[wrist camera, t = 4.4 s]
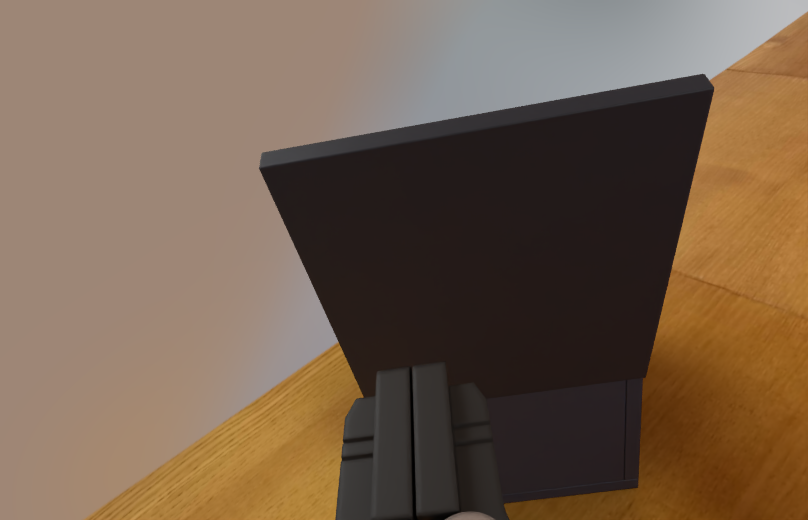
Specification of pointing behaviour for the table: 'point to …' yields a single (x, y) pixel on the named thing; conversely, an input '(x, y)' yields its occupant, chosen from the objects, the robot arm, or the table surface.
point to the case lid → (500, 236)
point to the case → (567, 440)
